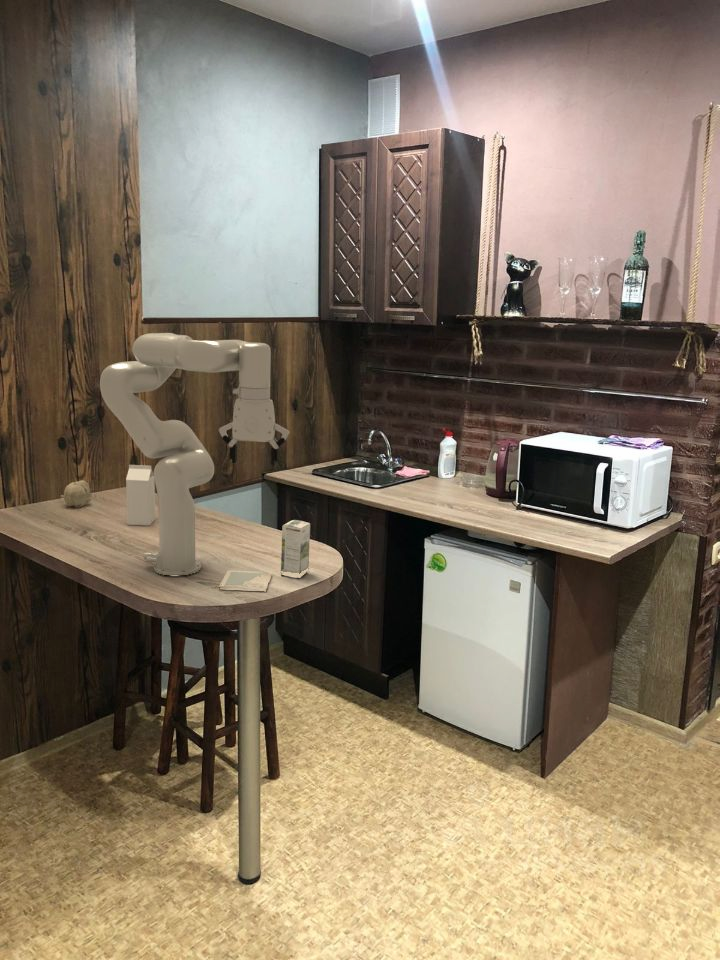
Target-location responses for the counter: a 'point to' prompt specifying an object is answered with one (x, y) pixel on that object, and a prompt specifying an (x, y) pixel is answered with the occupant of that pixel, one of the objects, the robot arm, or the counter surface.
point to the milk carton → (140, 495)
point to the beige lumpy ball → (77, 494)
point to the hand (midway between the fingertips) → (253, 462)
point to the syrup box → (295, 546)
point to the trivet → (239, 577)
